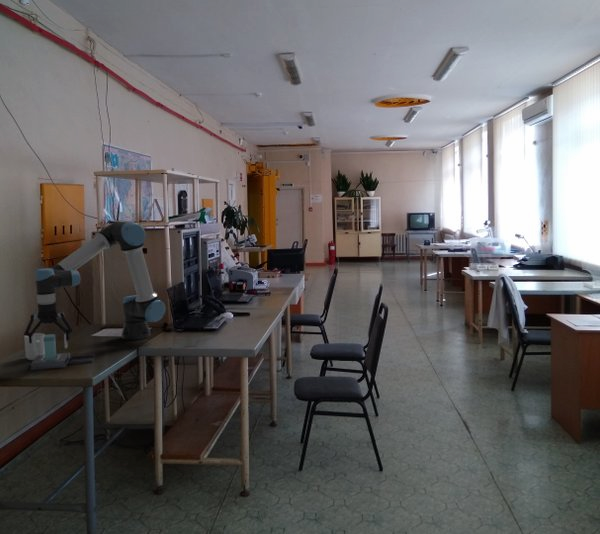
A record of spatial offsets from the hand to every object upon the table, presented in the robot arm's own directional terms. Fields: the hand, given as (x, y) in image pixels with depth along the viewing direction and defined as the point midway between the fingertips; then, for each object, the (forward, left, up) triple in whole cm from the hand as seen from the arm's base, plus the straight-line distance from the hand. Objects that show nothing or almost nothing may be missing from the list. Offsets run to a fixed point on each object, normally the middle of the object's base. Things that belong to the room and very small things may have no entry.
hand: (50, 348), depth 249 cm
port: (0, 0, -8) cm, 8 cm away
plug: (0, 0, -8) cm, 8 cm away
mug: (+9, -14, -8) cm, 18 cm away
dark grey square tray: (-13, -2, -8) cm, 15 cm away
